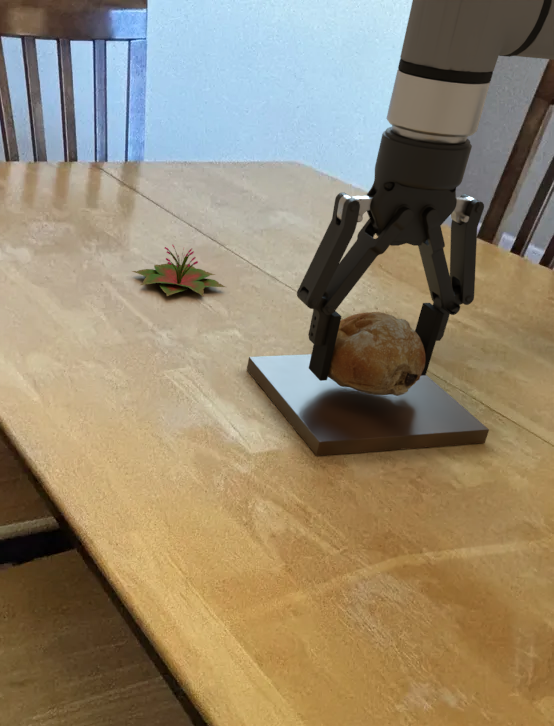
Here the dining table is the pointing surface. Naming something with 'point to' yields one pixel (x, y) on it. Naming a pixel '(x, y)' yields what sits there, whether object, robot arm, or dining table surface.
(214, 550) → the dining table surface
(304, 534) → the dining table surface
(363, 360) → the bread roll
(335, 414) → the cutting board
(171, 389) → the dining table surface
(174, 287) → the lily flower
